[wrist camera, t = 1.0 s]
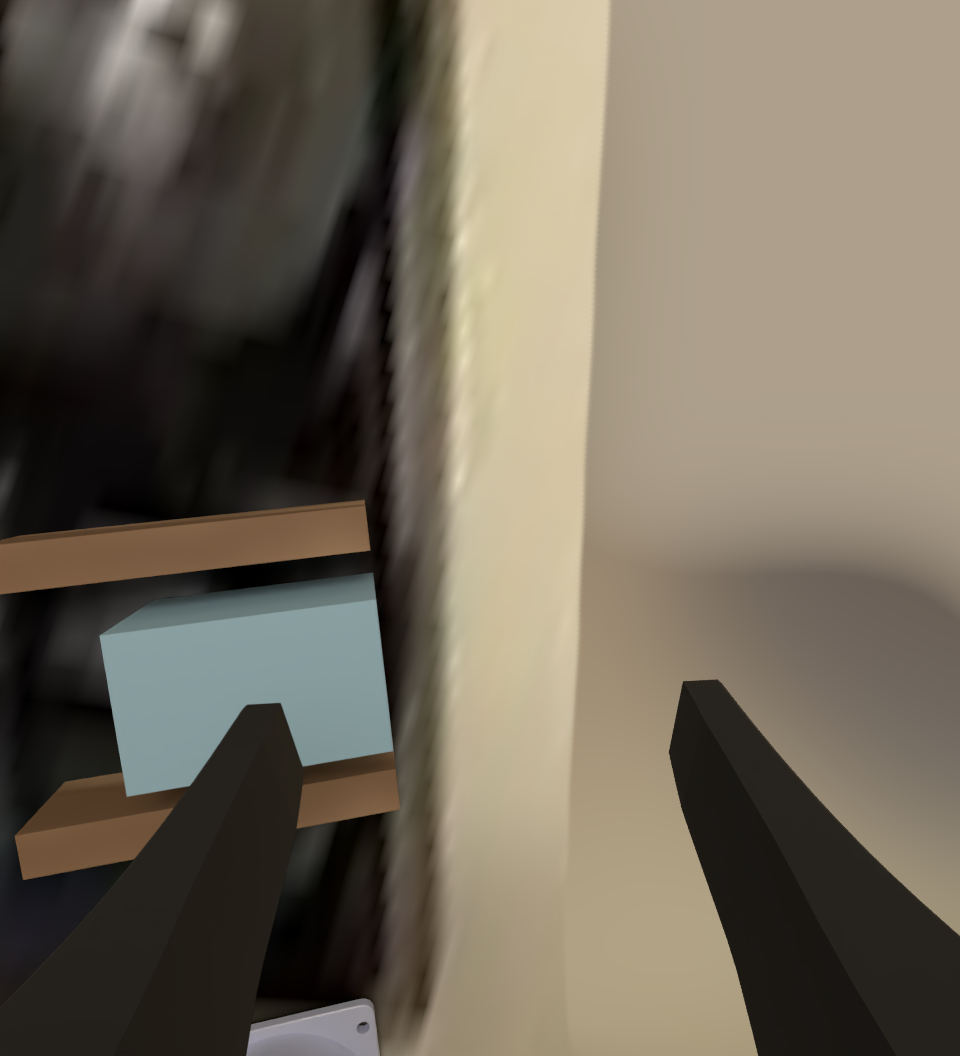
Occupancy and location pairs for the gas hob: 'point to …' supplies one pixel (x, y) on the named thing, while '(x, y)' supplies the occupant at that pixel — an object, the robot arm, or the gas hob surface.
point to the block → (247, 675)
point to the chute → (159, 549)
